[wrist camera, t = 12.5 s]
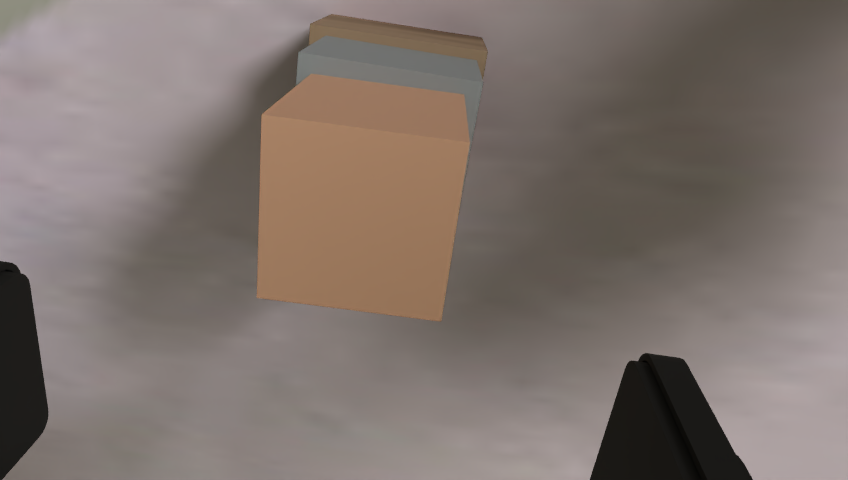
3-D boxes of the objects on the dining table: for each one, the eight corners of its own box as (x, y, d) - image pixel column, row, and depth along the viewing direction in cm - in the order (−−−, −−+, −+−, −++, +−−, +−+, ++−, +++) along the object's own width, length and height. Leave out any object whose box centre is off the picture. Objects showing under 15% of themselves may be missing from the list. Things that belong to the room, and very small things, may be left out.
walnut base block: (331, 14, 29) (310, 23, 25) (481, 37, 30) (487, 51, 25) (319, 159, 32) (298, 192, 28) (456, 179, 32) (458, 215, 28)
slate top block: (325, 35, 25) (298, 52, 20) (477, 60, 25) (483, 82, 21) (313, 179, 27) (285, 223, 23) (451, 201, 28) (451, 249, 23)
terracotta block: (311, 73, 21) (261, 114, 15) (464, 94, 21) (470, 142, 15) (303, 216, 23) (256, 297, 17) (442, 234, 23) (441, 321, 17)
